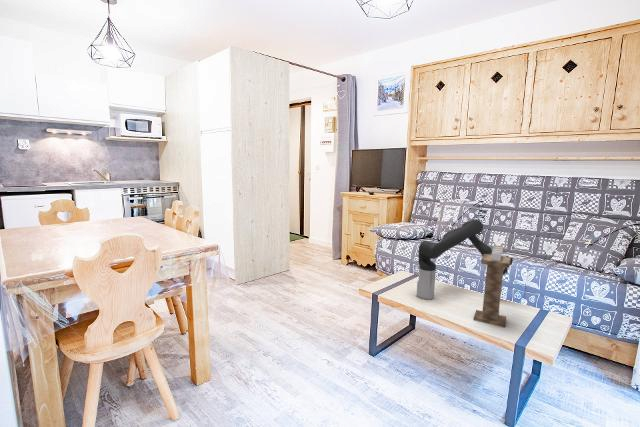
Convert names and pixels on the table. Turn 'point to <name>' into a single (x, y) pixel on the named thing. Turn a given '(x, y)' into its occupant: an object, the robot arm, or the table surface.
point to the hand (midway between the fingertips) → (498, 255)
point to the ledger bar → (496, 253)
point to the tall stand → (492, 291)
